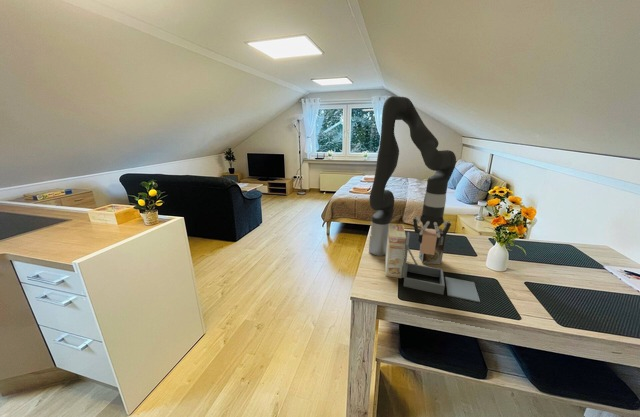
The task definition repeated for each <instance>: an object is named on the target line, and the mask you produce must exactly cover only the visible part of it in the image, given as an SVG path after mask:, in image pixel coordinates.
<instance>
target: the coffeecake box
mask: <svg viewBox="0 0 640 417" xmlns="http://www.w3.org/2000/svg"><path fill="white" fill-rule="evenodd" d="M405 230H406V229H405V226H404V225H403V224H393V223H390V224H389V227H388V237H387V248H386V255H385V259H384V261H385V262H384V263H385V277H391V278H396V279H402V271H403V262H404V253H405V245H406V238H407V233H406V231H405Z"/></svg>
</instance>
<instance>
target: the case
mask: <svg viewBox="0 0 640 417" xmlns="http://www.w3.org/2000/svg"><path fill="white" fill-rule="evenodd" d="M410 234H411V233H410V232H409V231H407V233H406V243H405V252H404V260H403V269H402V278H403V287H405V288H408V289H409V288H410V289H414V290H415V289H416V290H418V291H424V292H428V293H433V294H438V295H442V296H443V295H444V293H445V288H446V283H445V277H444V270H443V268H440V267H439V268H438V267H431V266H427V265H423V264H418V263H417V260H416V259H415V257H414V255H413V253H412V251H411V249H410V247H409V243H410ZM408 253H409V255H410V257H411V259H412V261H413V262H414V263H410V262H408V261H407V260H408ZM408 273H413V274H414V273H415V274H419V275H424V276H429V277H434V278H438V279H439V283H436V282H432V281H426V280H421V279H417V278H412V277H407V276H408ZM402 278H401V279H402Z"/></svg>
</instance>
